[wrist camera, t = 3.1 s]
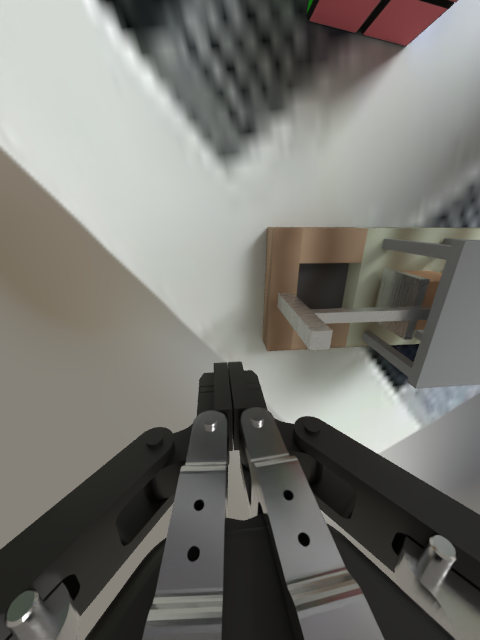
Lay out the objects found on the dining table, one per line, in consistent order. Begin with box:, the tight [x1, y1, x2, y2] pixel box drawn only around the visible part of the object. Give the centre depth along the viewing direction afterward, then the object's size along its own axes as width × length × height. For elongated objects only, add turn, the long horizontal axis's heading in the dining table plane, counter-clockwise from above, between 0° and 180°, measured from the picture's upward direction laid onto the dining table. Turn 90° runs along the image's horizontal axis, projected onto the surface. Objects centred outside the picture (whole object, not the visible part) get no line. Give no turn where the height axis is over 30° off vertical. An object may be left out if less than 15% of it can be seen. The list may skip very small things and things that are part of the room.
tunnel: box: [362, 238, 480, 389], centre depth 25 cm, size 8×13×9 cm, turn 0°
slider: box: [277, 267, 444, 350], centre depth 23 cm, size 31×6×10 cm, turn 90°
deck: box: [263, 227, 480, 351], centre depth 30 cm, size 32×14×3 cm, turn 90°
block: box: [403, 271, 442, 330], centre depth 27 cm, size 5×5×5 cm
